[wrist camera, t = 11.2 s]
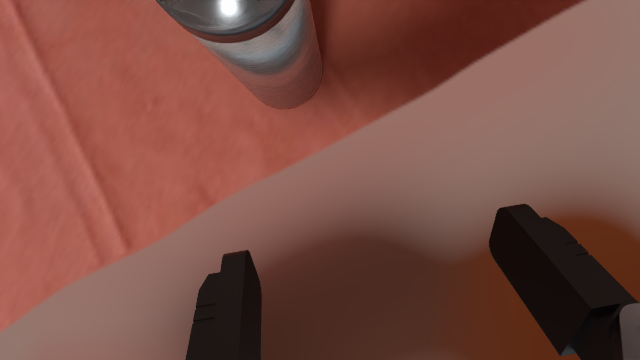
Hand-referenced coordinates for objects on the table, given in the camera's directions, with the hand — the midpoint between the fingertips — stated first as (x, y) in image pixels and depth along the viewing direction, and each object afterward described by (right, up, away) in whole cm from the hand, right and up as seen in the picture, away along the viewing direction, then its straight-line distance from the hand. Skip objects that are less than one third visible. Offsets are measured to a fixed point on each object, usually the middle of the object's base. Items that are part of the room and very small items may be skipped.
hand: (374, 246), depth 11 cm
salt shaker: (-4, +9, +10) cm, 14 cm away
